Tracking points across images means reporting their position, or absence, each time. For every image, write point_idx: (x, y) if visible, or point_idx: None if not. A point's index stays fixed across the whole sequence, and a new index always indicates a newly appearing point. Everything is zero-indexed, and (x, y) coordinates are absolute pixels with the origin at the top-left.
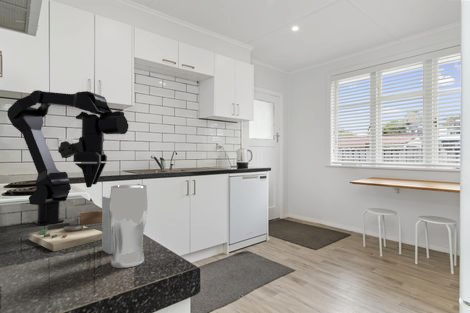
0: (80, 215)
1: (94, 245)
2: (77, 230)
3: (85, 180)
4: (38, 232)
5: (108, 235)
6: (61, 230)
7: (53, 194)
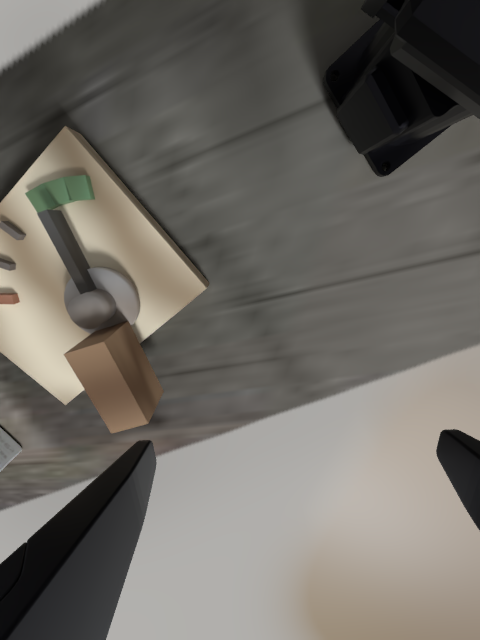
0: (97, 339)
1: (12, 377)
2: None
3: (83, 495)
4: (77, 167)
5: None
6: (102, 255)
7: (394, 56)
